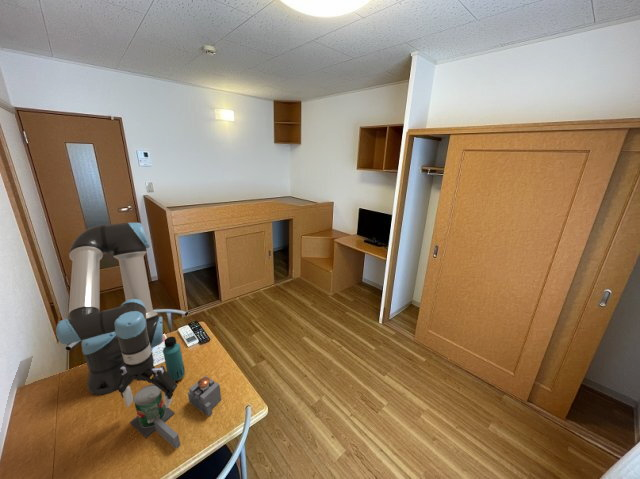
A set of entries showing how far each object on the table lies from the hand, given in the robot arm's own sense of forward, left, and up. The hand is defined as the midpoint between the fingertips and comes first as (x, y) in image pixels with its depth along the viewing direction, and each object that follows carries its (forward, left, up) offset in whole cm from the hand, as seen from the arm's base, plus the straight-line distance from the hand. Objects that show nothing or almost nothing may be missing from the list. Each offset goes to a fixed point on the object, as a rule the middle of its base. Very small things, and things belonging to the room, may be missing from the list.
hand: (149, 403), depth 91 cm
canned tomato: (0, 0, -6) cm, 6 cm away
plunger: (+11, +14, -3) cm, 18 cm away
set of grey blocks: (+11, +8, -6) cm, 15 cm away
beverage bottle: (-9, +15, -7) cm, 18 cm away
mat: (0, 0, -6) cm, 7 cm away
